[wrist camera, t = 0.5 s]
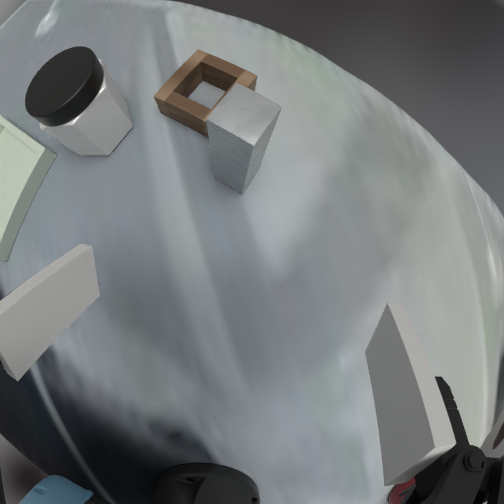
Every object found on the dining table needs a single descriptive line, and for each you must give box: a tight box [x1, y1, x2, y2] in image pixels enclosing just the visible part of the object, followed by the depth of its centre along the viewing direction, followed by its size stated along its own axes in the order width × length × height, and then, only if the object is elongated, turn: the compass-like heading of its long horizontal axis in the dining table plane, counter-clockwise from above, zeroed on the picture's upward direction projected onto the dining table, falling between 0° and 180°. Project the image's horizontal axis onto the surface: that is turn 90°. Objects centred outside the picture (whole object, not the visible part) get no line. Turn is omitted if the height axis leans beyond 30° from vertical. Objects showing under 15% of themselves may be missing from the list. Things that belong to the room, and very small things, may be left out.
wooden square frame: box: [154, 50, 257, 138], centre depth 27 cm, size 8×8×4 cm
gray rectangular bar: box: [206, 83, 282, 195], centre depth 23 cm, size 3×3×14 cm
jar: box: [25, 46, 133, 156], centre depth 22 cm, size 9×8×12 cm
